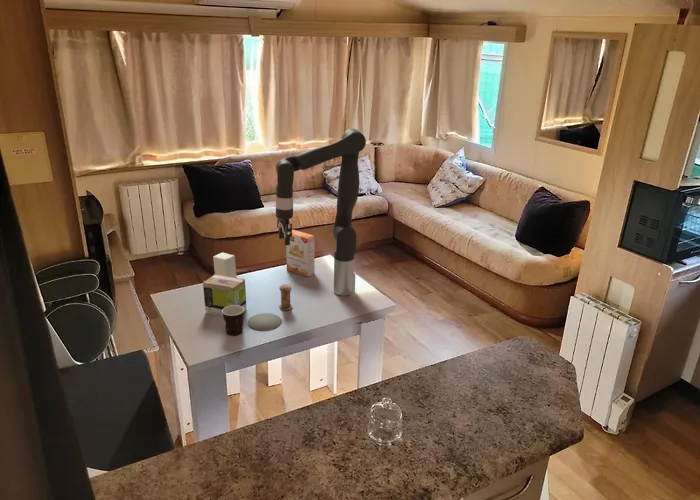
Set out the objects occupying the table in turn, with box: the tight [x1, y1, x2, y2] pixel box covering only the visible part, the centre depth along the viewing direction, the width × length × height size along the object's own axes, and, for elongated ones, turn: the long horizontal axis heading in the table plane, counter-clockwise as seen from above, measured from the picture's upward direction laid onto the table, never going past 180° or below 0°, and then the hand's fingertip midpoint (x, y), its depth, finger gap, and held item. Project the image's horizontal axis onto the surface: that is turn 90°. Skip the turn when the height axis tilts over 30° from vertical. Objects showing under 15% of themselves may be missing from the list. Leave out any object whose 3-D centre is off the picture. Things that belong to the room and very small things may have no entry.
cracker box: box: [285, 229, 316, 278], centre depth 270 cm, size 14×6×21 cm, turn 55°
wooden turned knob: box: [278, 284, 293, 312], centre depth 236 cm, size 6×6×10 cm
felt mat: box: [247, 312, 282, 332], centre depth 226 cm, size 14×14×1 cm
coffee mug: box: [222, 305, 245, 337], centre depth 215 cm, size 12×9×10 cm
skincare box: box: [212, 251, 238, 278], centre depth 254 cm, size 8×7×16 cm
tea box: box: [202, 273, 247, 317], centre depth 231 cm, size 15×10×15 cm
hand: (284, 241), depth 239 cm, fingers open, 8 cm apart
